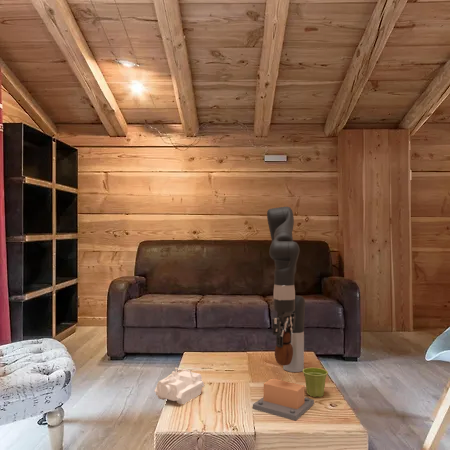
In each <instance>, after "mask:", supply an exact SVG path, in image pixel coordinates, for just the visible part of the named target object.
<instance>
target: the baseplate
mask: <svg viewBox="0 0 450 450" xmlns="http://www.w3.org/2000/svg"><path fill="white" fill-rule="evenodd" d="M313 404H315V399H312V398H309V397H308V396H307V397H306V396H305V403H304V404H303V405H302V406H301V407H300V408H298V409H294V408H290V407H286V406H282V405H278V404H274V403H270V402H267V401H263V397H261V398H259V399H258V400H257V401H255V402H254V403H252V410H256V411H260V412H264V413H267V414H271V415H273V416H278V417H280V418H285V419H289V420H293V421H297V420H298V419H299V418H300V417H301V416H303V415H304V414H305V413H306V412H307V411H308V410H309V409H310V408H311V407H313V406H314V405H313Z"/></svg>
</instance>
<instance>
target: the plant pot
mask: <svg viewBox="0 0 450 450" xmlns="http://www.w3.org/2000/svg"><path fill="white" fill-rule="evenodd" d="M302 373H303V376H304V379H305V388H306V393H307V395H308V396H309V395H310V396H309V397H312V396H313V398H315V397H316V398H317V397H319V398H322V397H323V396H324V393H325V386H326V385H325V384H326V378H327V376H328V374H329V373H328V371H327V370H326V369H324V368H319V367H306V368H305V367H304V369H303V371H302Z"/></svg>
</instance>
